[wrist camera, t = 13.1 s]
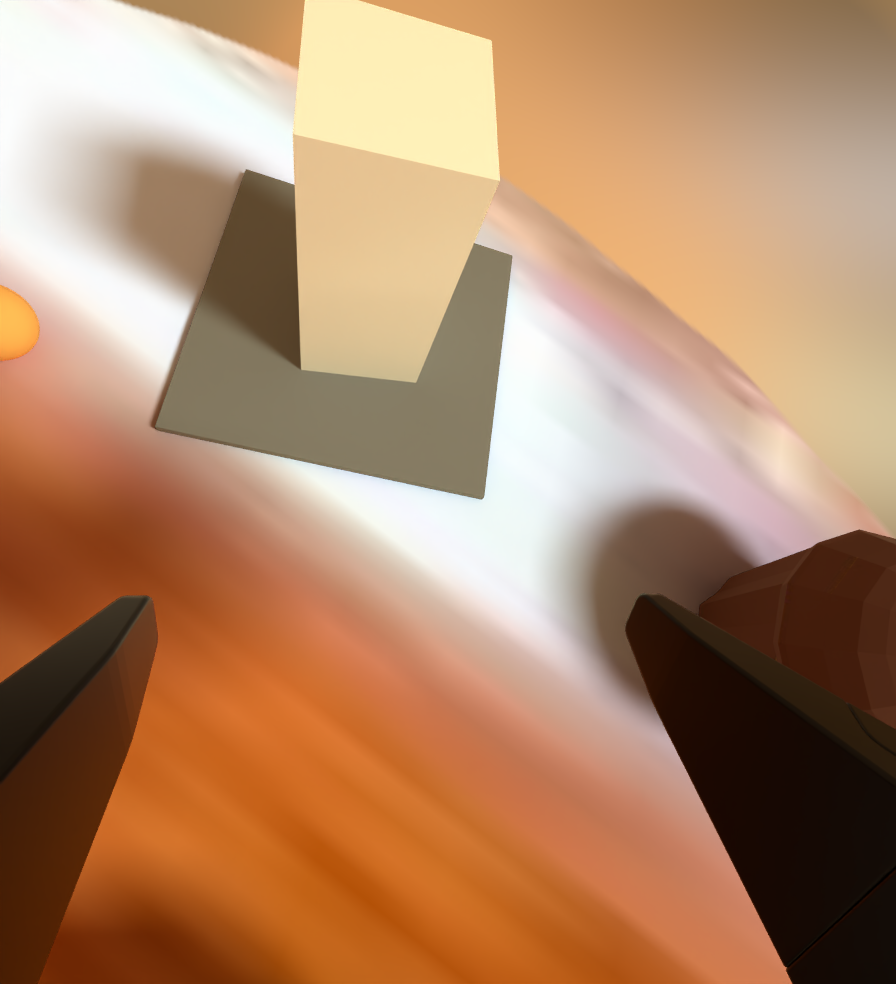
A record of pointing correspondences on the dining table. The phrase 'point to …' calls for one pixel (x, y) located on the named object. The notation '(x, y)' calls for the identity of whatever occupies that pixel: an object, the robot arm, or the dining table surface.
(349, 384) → the mat
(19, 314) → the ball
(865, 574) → the muffin
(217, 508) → the dining table surface
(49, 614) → the dining table surface
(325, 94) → the tall cream pillar
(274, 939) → the dining table surface
